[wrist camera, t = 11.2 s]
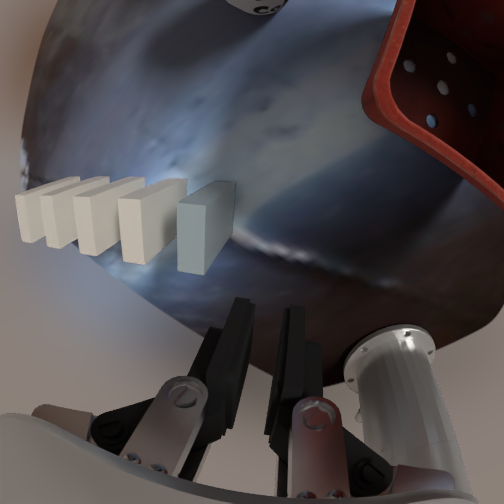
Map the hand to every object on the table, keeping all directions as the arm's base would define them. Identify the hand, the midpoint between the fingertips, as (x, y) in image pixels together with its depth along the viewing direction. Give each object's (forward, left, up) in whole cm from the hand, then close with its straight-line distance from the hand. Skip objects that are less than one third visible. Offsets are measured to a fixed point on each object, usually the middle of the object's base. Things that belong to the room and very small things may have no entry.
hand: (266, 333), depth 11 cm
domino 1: (0, +25, -17) cm, 30 cm away
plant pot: (+15, -14, -17) cm, 27 cm away
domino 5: (0, +6, -17) cm, 18 cm away
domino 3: (0, +16, -17) cm, 23 cm away
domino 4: (0, +11, -17) cm, 20 cm away
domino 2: (0, +20, -17) cm, 27 cm away
